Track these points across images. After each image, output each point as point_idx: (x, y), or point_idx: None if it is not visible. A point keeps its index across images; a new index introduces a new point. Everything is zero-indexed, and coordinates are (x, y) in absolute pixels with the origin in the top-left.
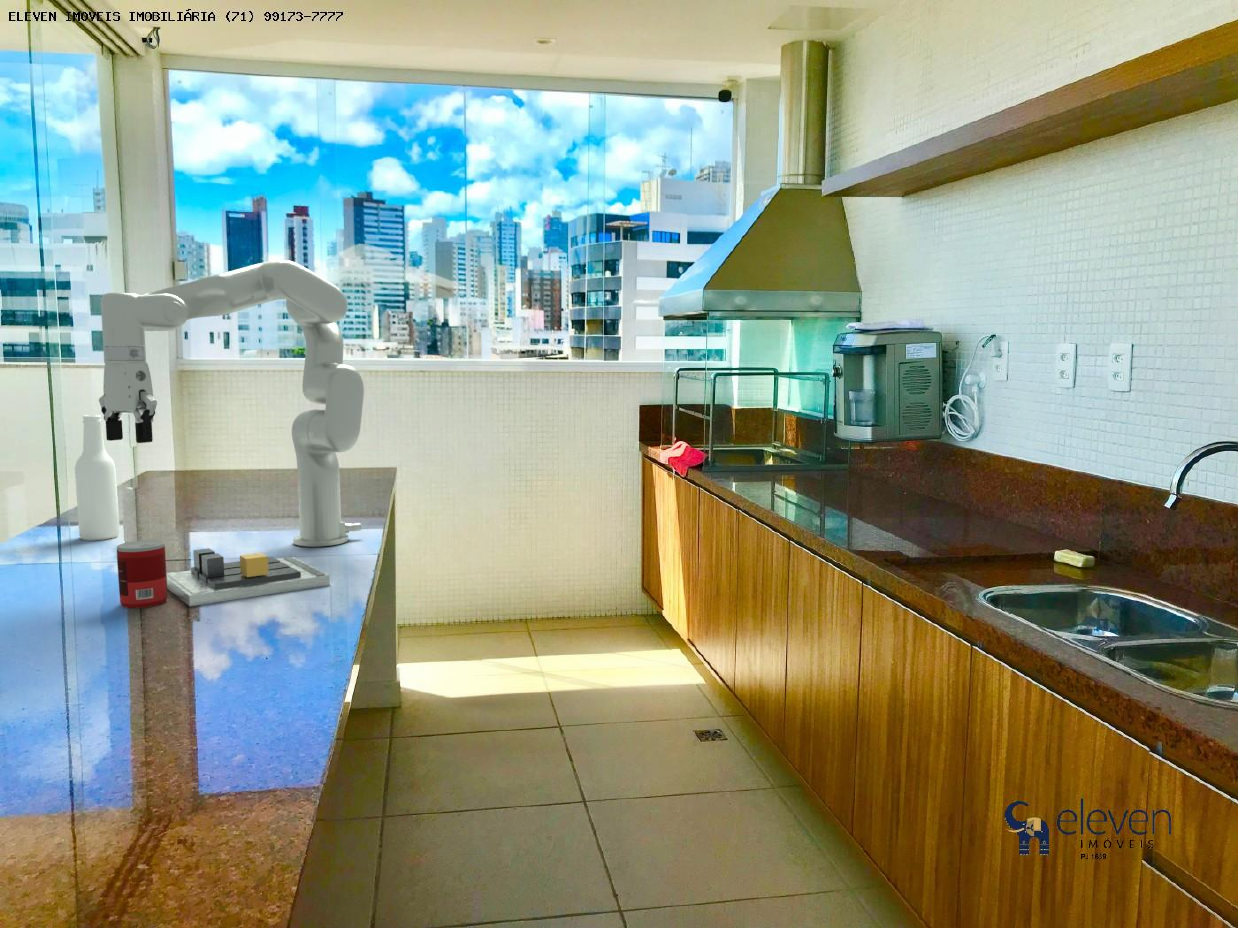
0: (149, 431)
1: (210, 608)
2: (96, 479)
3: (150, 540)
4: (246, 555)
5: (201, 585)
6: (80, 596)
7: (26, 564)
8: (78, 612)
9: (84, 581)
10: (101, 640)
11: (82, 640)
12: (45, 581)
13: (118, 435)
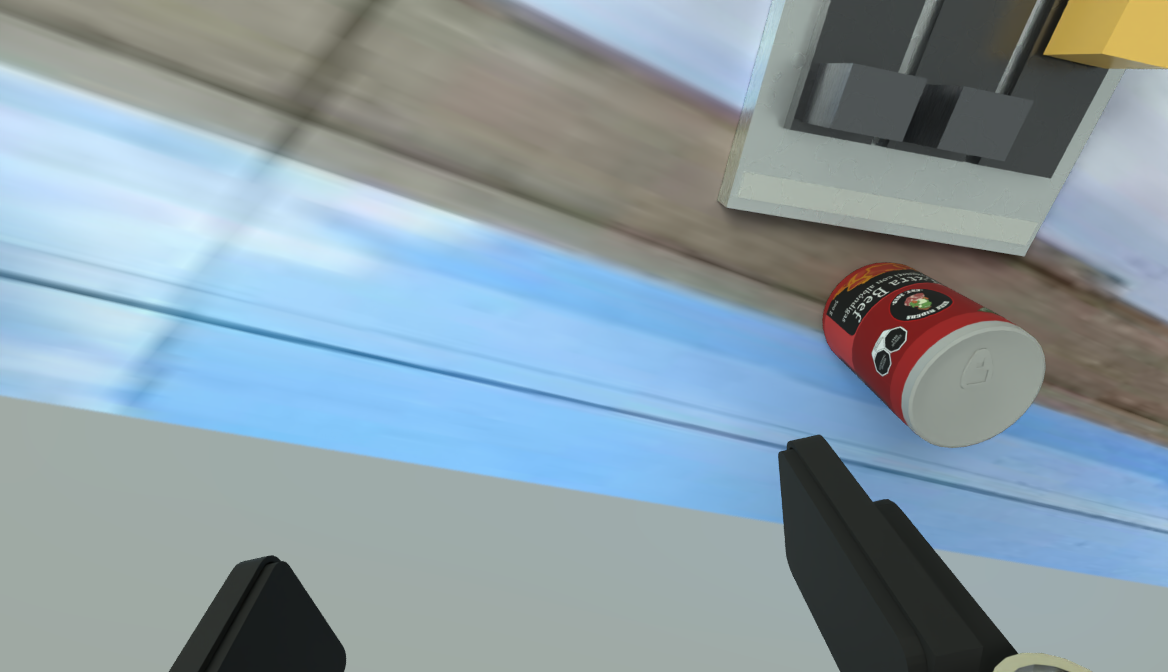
0: (933, 563)
1: (1066, 218)
2: None
3: (950, 349)
4: (1128, 34)
5: (962, 183)
6: (675, 389)
7: (148, 386)
8: (814, 429)
9: (511, 338)
10: (1040, 452)
11: (1007, 471)
12: (439, 404)
13: (287, 629)
